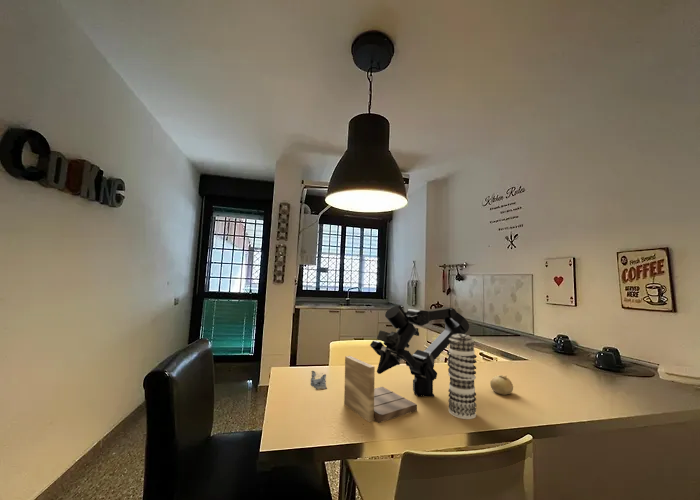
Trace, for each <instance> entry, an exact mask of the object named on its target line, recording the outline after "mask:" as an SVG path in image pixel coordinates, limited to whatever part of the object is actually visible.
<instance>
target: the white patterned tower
mask: <svg viewBox="0 0 700 500" xmlns="http://www.w3.org/2000/svg"><path fill="white" fill-rule="evenodd" d="M449 340H450V344H449V347H448V351H446V354H447V355H448V357H446V358H447V366H448V368H447V370H448V376H449V384H448V386H449V388H448V392H449V393H448V397H449V398H448V402H447V403H448V413H449V414H450V415H451V416H453V417H455V418H458V419H462V420H473V419H475V418H476V417H477V413H476V412H477V408H476V407H477V403H476V401H477V397H476V396H477V392H476V387H475V379H476V378H477V376H476V374H477V372H476V370H477V366H476V365H475V363H477V360H476V358H477V355H476V354H475V349H474V348H475V343H474V342H475V340H474V339H473V338H472V337H471V336H470V334H467V333H465V334H453V335H452V336H451V338H449Z"/></svg>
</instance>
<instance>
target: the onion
mask: <svg viewBox="0 0 700 500" xmlns="http://www.w3.org/2000/svg"><path fill="white" fill-rule="evenodd" d="M490 389H491V390H493V392H494V393H496V394H498V395H505V396H506V395H510V394H511V393H512V392H513V390H514V386H513V383H512V380H510V378H509V377H508V376H507V375H503V374H498V375H495V376H493V377H492V378H491V379H490Z"/></svg>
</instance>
